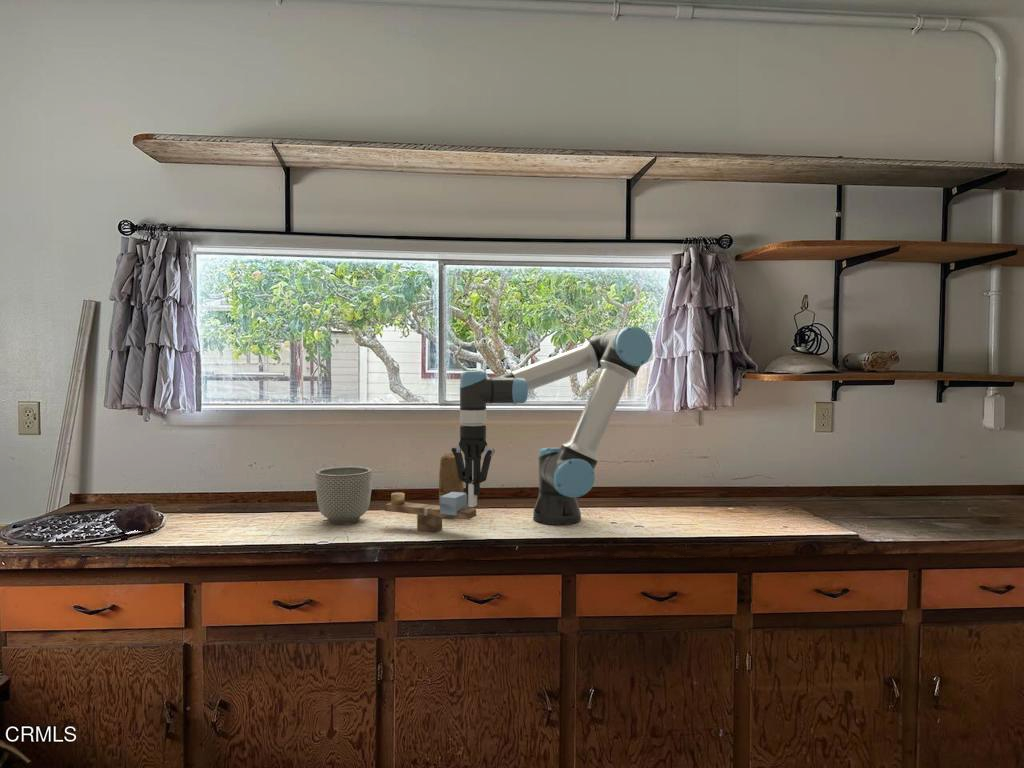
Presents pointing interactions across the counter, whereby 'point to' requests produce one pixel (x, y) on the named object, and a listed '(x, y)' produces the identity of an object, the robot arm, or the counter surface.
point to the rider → (452, 503)
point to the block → (449, 476)
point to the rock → (138, 518)
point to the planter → (343, 493)
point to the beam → (425, 513)
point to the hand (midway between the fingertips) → (472, 505)
